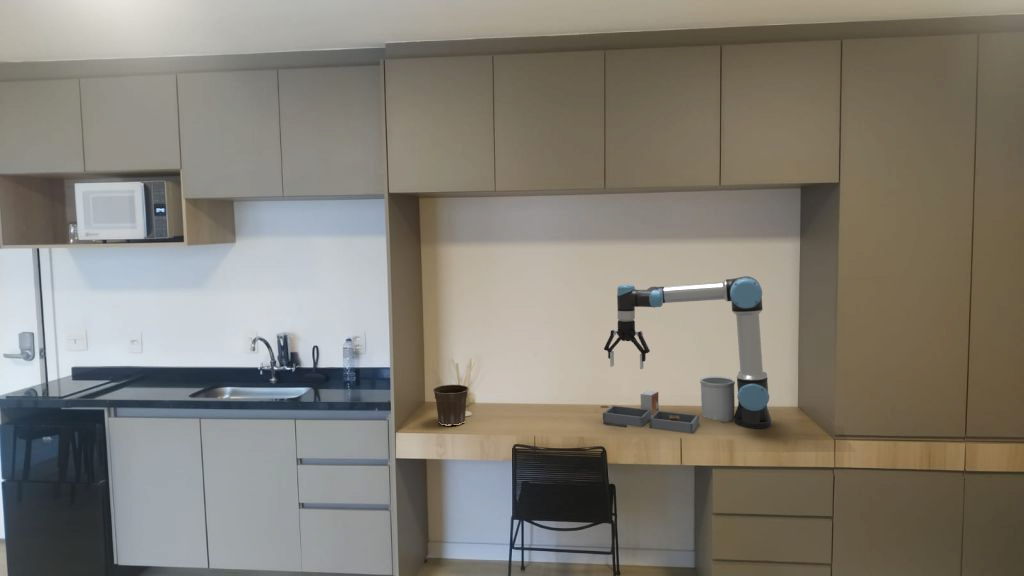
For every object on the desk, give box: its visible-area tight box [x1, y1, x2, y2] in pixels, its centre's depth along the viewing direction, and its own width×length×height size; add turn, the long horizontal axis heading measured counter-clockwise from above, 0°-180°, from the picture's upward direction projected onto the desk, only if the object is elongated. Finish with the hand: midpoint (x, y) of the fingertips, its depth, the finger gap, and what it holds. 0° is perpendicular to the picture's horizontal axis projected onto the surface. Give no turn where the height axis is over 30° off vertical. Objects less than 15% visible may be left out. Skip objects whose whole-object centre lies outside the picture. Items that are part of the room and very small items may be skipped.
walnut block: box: [669, 415, 679, 421], centre depth 251 cm, size 4×4×4 cm
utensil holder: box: [699, 375, 736, 423], centre depth 263 cm, size 15×15×18 cm
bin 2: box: [648, 410, 700, 434], centre depth 251 cm, size 18×13×5 cm
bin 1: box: [602, 405, 652, 428], centre depth 262 cm, size 18×13×5 cm
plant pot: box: [432, 384, 469, 425], centre depth 269 cm, size 16×16×16 cm
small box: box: [640, 390, 660, 417], centre depth 271 cm, size 8×6×10 cm
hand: (626, 367), depth 260 cm, fingers open, 13 cm apart
